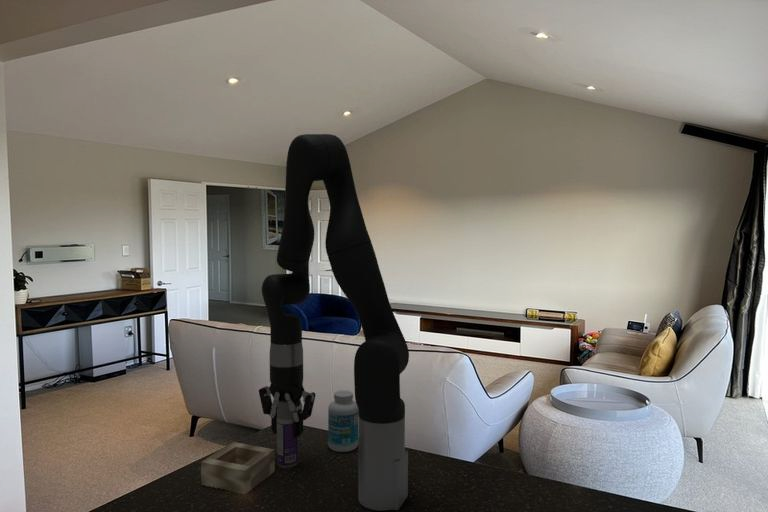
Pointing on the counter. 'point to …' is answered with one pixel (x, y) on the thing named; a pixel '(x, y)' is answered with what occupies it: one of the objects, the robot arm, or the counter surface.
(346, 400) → the pill bottle
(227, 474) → the socket block
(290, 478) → the counter surface
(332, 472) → the counter surface
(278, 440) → the container
